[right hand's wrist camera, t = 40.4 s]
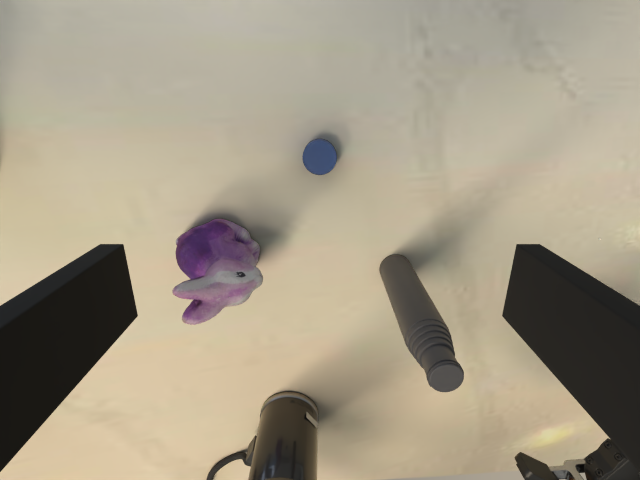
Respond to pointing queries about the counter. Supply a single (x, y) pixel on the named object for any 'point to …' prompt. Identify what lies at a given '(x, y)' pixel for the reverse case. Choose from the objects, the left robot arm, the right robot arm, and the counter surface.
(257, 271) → the figurine
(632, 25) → the counter surface
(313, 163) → the cap
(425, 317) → the bottle
